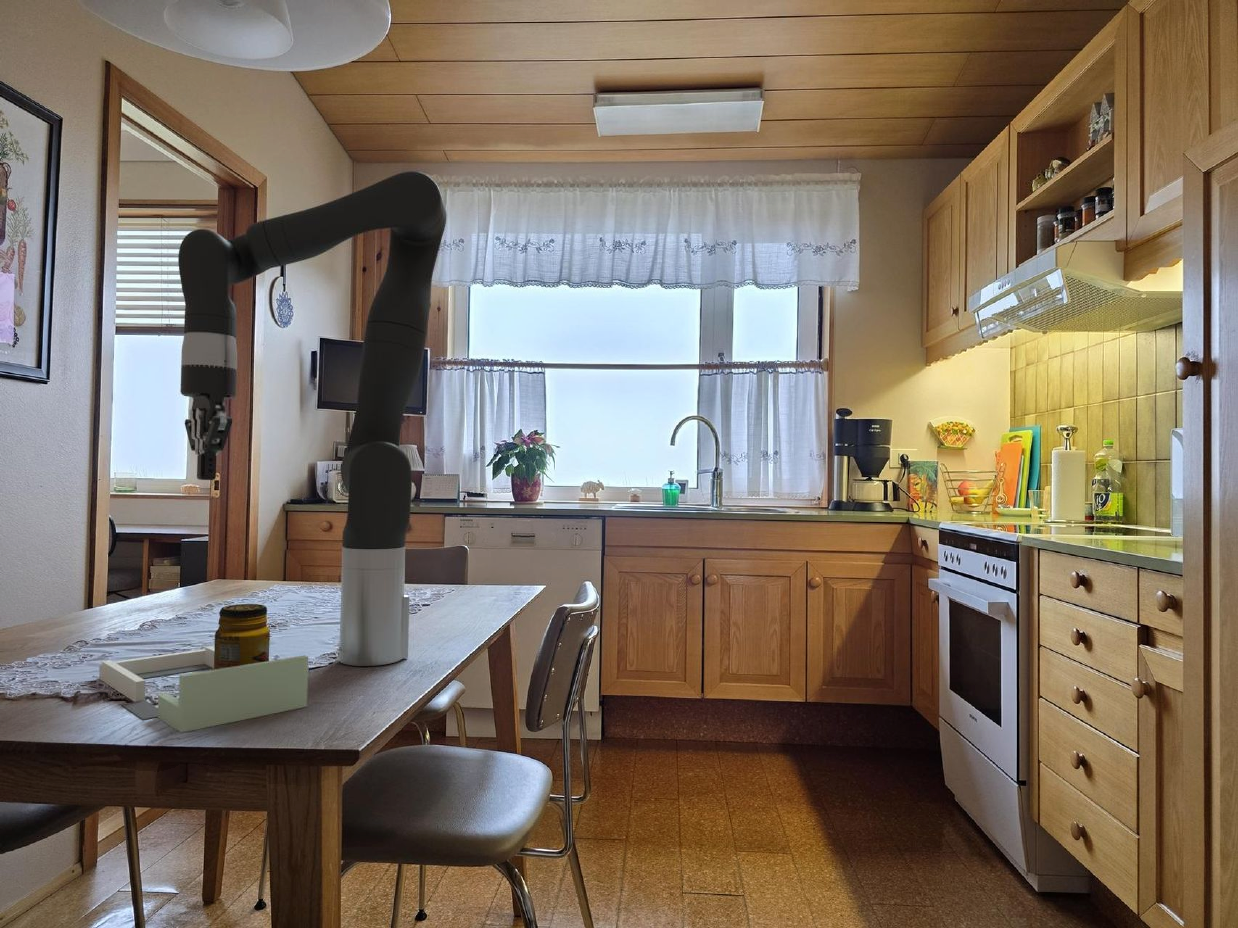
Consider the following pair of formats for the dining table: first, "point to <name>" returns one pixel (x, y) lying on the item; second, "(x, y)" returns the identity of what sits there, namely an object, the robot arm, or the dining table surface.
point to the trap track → (210, 688)
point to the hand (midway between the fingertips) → (206, 479)
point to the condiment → (241, 636)
